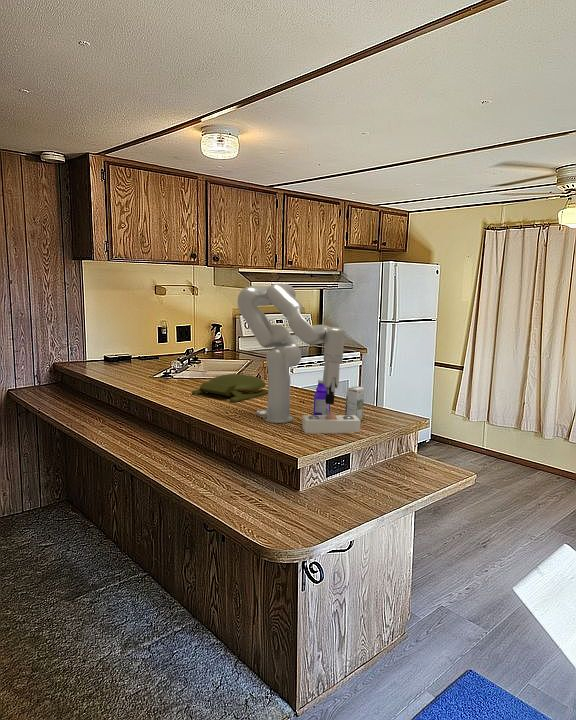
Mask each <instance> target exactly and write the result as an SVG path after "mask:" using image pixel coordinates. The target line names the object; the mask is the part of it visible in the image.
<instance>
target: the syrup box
mask: <svg viewBox="0 0 576 720" xmlns="http://www.w3.org/2000/svg"><path fill="white" fill-rule="evenodd" d="M364 402H365V388H364V387H361V386H357V385H355V386H354V385H353V386H350V387H347V388H346V394H345V411H344V415H356V416H357V418H358V419H359V420H360V421H363V417H364Z"/></svg>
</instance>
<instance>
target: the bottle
mask: <svg viewBox="0 0 576 720" xmlns="http://www.w3.org/2000/svg"><path fill="white" fill-rule="evenodd" d="M325 400H326V387H325V386H324V384H323V378H319V379H318V381H317V387H316V389H315V393H314V395H313V407H312V408H313V410H312V415H327V414H328V413H331V404H326V403H325Z"/></svg>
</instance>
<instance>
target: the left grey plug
mask: <svg viewBox="0 0 576 720" xmlns="http://www.w3.org/2000/svg"><path fill="white" fill-rule="evenodd" d="M310 415H311V416H310V417H309V419H318V416H315V415H313V414H310Z"/></svg>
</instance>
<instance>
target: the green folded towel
mask: <svg viewBox="0 0 576 720" xmlns="http://www.w3.org/2000/svg"><path fill="white" fill-rule="evenodd" d="M266 386H267V384H266V382H265V380H263V379H261V378H260V377H257V376H254V375H249V374H242V373H231V374H230V373H228V374H221V375H219V376H218V375H217V376H215V377H213V378H211V379H210V380H208V381H204V382H202V384H201V385H200V386H199V388H198V389H194V390H192V391H191V392H190V393H191V395H193V394H200V395H203V394H202V393H205V394H207V393H206V392H209V393H208V394H215V395H221V396H226V397H230V398H229V401H230V403H240V402H243V400H244V401H247V400H251V399H255V398H259V397H261V396H262V395H263V396H266V395H265V394H267V395H268V389H267V390H266V389H263V388H265V387H266ZM259 389H261V390H259ZM253 390H257V391H253ZM242 391H253V392H249V393H245V394H243V393H242ZM232 396H233V397H232ZM258 396H259V397H258ZM254 397H255V398H254ZM250 398H251V399H250ZM239 401H240V402H239Z"/></svg>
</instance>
